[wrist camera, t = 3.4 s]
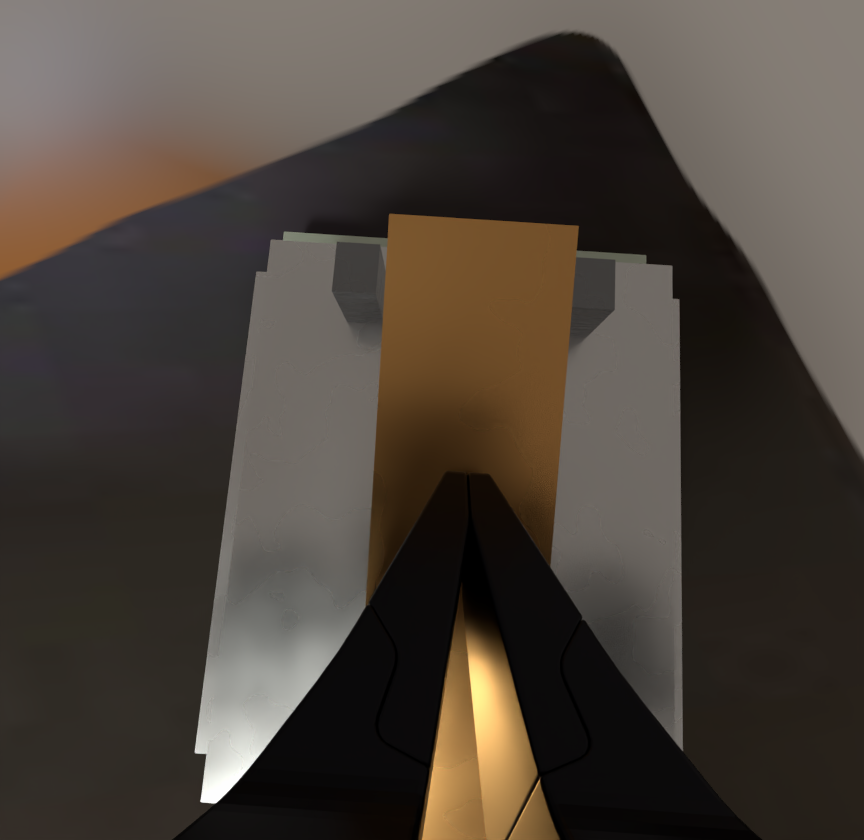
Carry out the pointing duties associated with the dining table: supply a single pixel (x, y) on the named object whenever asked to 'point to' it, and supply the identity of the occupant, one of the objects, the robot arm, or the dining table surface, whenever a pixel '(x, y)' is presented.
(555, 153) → the dining table surface
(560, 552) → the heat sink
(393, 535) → the strap
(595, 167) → the dining table surface
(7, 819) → the dining table surface
